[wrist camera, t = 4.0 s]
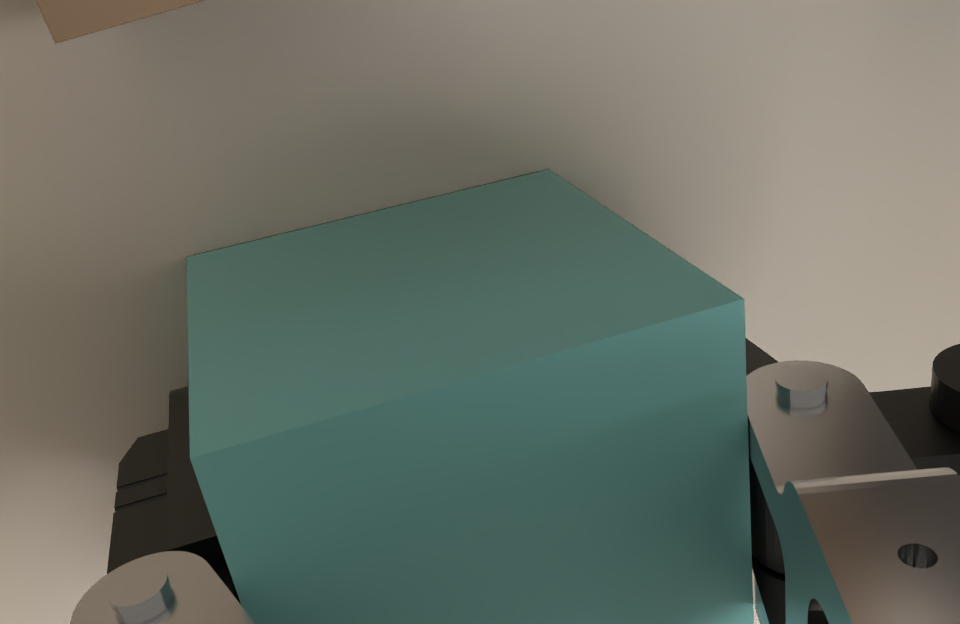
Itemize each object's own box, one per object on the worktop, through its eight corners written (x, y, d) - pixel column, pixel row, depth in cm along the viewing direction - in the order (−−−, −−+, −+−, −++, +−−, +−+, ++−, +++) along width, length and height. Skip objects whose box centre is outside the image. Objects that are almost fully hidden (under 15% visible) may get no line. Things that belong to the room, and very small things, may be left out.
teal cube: (548, 169, 13) (744, 298, 8) (584, 462, 15) (755, 689, 10) (186, 256, 12) (190, 458, 7) (281, 558, 14) (329, 854, 9)
